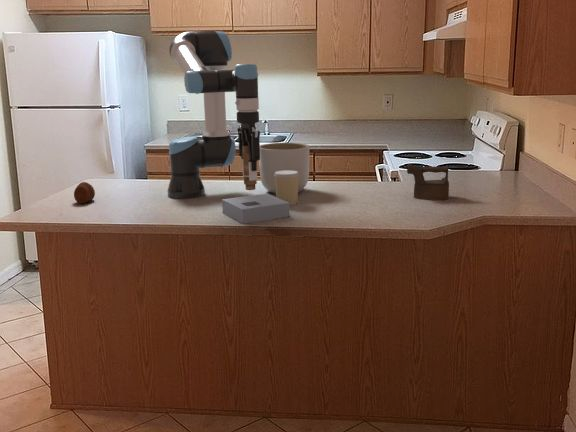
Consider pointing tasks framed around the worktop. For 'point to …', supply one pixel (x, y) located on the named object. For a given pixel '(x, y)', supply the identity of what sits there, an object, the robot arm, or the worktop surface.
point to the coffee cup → (287, 185)
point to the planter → (283, 162)
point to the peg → (247, 170)
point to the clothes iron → (429, 183)
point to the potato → (84, 193)
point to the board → (255, 208)
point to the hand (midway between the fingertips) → (250, 178)
